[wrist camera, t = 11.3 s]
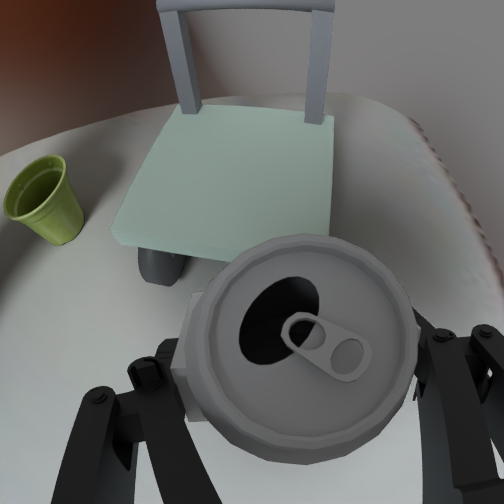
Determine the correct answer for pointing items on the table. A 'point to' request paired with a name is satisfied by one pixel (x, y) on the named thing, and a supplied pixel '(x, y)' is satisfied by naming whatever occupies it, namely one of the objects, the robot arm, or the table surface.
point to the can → (301, 349)
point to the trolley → (230, 160)
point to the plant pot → (45, 200)
